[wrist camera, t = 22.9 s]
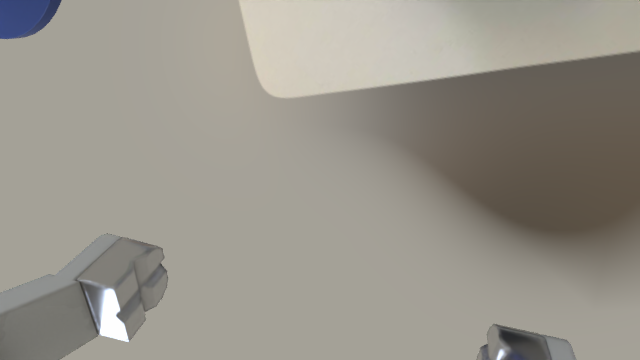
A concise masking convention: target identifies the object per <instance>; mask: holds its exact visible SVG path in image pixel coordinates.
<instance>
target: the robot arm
mask: <svg viewBox="0 0 640 360" xmlns="http://www.w3.org/2000/svg"><path fill="white" fill-rule="evenodd" d="M163 259H164V254H163V249H162V248H161V247H158V246H155V245H151V244H147V243H143V242H140V241H136V240H132V239H128V238H123V237H119V236H116V235H112V234H108V233H107V234H104V235H101V236H99V237H98V238H97V239H96V240H95V241H94V242H92V243H91V244H90V245H89V246H88V247H87V248H86V249H84V250H83V251H82V252H81V253H80V254H79V255H78V256H77V257H75V258H74V259H73V260H72V261H71V262H70V263H68V264H67V265H66V266H65V267H64V268H63V269H62V270H60V271H59V272H58V273H57V274H56V275H51V274H48V275H46V276H43V277H41V278H38V279H35V280H33V281H30V282H27V283H25V284H22V285H19V286H17V287H14V288H12V289H9V290H6V291H4V292H1V293H0V360H60V359H61V358H63V357H65V356H66V355H68V354H70V353H71V352H73V351H74V350H76V349H78V348H79V347H81V346H83V345H84V344H86V343H87V342H89V341H91V340H92V339H94V338H96V337H97V336H98V335H97V334H99V335H103V336H107V337H111V338H115V339H119V340H124V341H127V342H129V341H130V340H131V339H132V337H133V336H134V335H135V333H136V332H137V331H138V329H139V328H140V327H141V326H142V324H143V323H144V322H145V320H146V318H145V312H146V311H148V310H150V309H152V308H154V307H156V306H157V304H158V303H159V302H160V300H161V299H162V297H163V295H164V293H165V290H166V288H167V282H168V276H167V271H166V269H165V268H164V267H163V266H162V265H161V261H162V260H163ZM487 340H488V344H486V345H484V346H482V347H481V348H480V351H479V353H478V356H477V360H576V358H575V355H574V352H573V349H572V346H571V344H570V343H569V342H568V341H567V340H564V339H559V338H556V337H551V336H546V335H540V334H538V333H534V332H529V331H525V330H520V329H516V328H511V327H507V326H502V325H497V324H493V325H492V326H491V327H490V328H489V330H488V332H487Z"/></svg>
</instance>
